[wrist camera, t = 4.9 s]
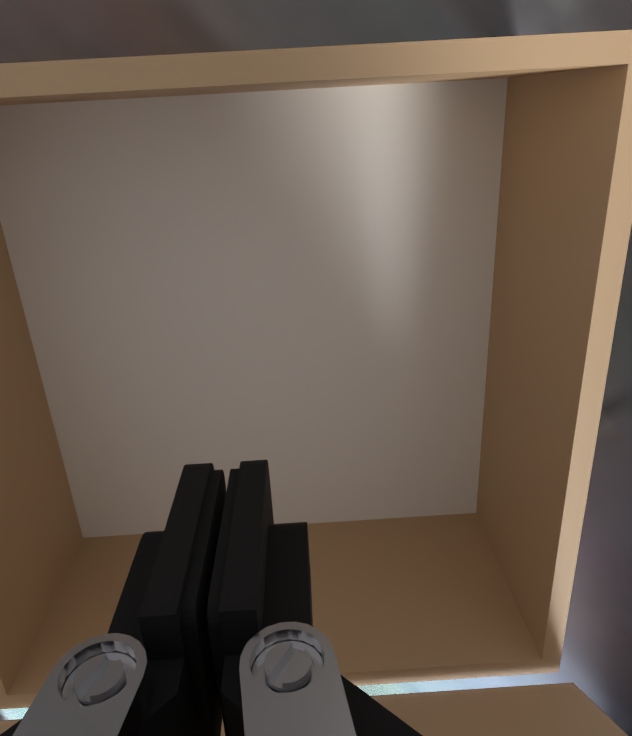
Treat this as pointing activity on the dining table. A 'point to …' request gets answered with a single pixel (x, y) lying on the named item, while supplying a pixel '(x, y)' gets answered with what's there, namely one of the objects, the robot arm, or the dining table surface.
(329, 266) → the box
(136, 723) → the robot arm
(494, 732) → the mailer lid
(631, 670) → the dining table surface
